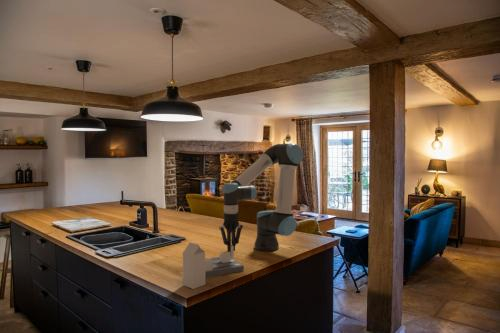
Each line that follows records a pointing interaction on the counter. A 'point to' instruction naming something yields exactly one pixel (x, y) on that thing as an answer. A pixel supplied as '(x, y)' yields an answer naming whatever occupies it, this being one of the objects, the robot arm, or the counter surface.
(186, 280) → the milk carton
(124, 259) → the counter surface
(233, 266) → the breaker panel
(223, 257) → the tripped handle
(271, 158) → the robot arm
